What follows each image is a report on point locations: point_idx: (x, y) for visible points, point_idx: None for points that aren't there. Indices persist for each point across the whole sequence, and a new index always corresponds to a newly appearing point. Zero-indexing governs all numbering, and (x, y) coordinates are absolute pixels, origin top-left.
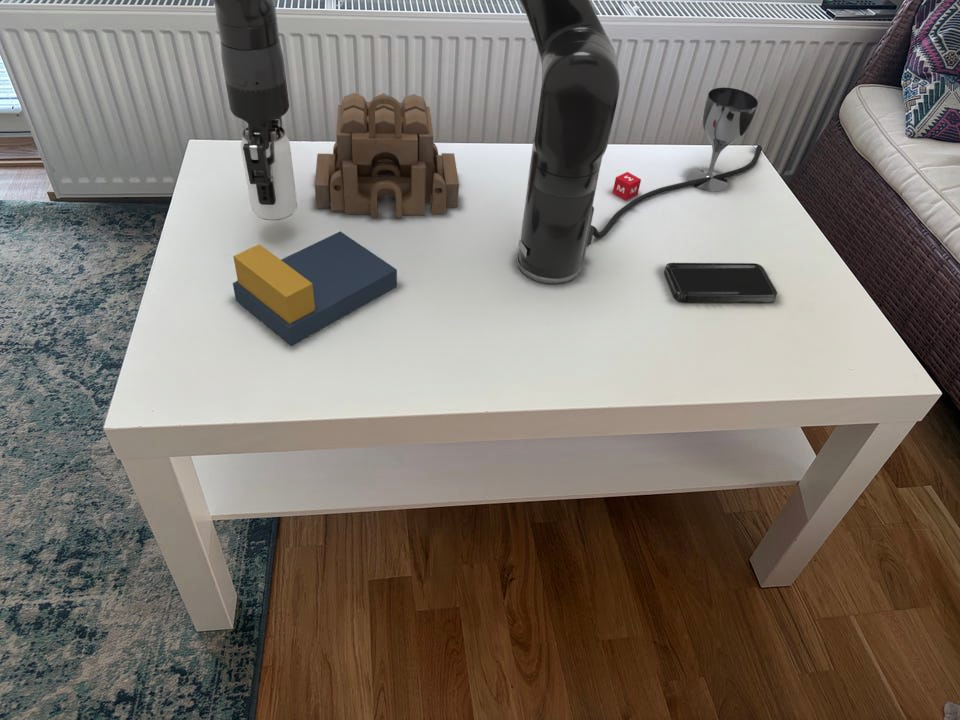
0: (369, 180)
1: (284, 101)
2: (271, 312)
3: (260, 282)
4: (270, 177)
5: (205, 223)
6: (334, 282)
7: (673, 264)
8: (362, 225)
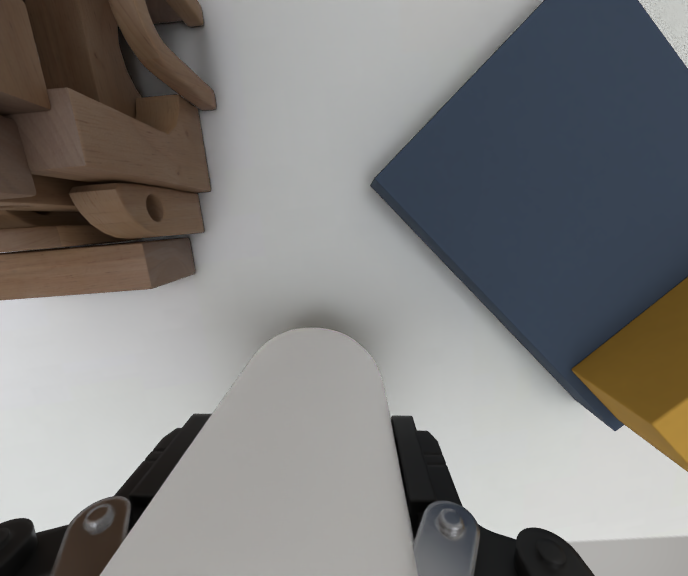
0: (74, 88)
1: None
2: None
3: None
4: (476, 539)
5: None
6: (647, 166)
7: None
8: (255, 135)
